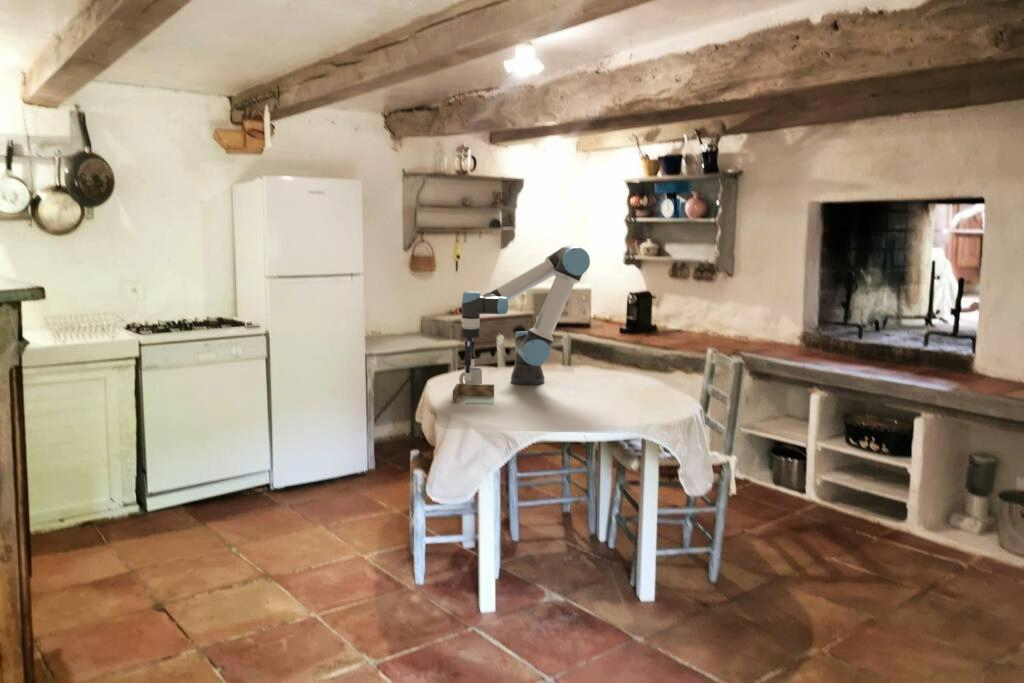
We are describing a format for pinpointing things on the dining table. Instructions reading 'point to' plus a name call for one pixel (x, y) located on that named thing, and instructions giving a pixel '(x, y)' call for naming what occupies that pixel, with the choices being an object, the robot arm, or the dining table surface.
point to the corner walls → (473, 390)
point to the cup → (472, 377)
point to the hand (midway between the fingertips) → (469, 377)
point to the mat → (480, 400)
